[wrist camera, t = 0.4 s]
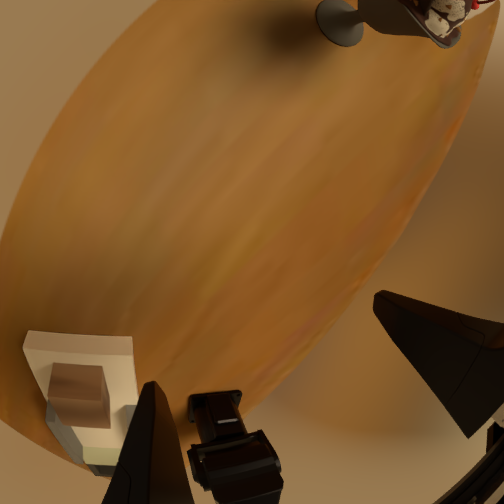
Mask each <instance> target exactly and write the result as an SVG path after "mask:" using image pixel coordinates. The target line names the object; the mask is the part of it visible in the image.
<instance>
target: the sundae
mask: <svg viewBox="0 0 504 504" xmlns="http://www.w3.org/2000/svg"><path fill="white" fill-rule="evenodd" d="M493 1H495V0H487V1H478V0H358V10H355V9H354V8H353V7H352V6H351V5H349V4H348V3H346V2H345V1H343V0H324V1H322V2H321V3H320V4H319V6H318V9H317V21H318V24H319V26H320V28H321V30H322V31H323V33H324V34H325V35H326V36H327V37H328V38H329V39H330V40H332V41H333V42H335V43H336V44H338V45H342V46H346V47H348V46H354V45H356V44H357V43H358V42H359V41H360V40H361V38H362V36H363V30H364V27H363V22H366V23H367V24H368V25H369V26H370V27H372V28H373V29H374V30H376V31H378V32H380V33H382V34H391V35H410V36H421V37H427V38H431V40H432V41H433V42H435V43H436V44H437V45H438V46H439V47H441V48H444V49H445V48H450V47H453V46H454V45H455V44H456V43H457V42H458V41H459V39H460V36H461V31H462V30H461V24H462V23H463V22H464V21H465V20H466V18H467V16H468V14H469V13H470V10H471V9H474V10H476V9H478V8H479V4H485V3H489V2H493Z"/></svg>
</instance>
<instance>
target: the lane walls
mask: <svg viewBox="0 0 504 504" xmlns="http://www.w3.org/2000/svg"><path fill="white" fill-rule="evenodd" d="M125 406H126V419H127V429H128V428H129V425H130V422H131V419H132V416H133V413H134V410H135V408H136V405H125ZM45 422H46V424H47V425H48V427H49V428H50V430H51V431H52V433H53V434H54V435H55V437H56V438H57V440H58V441H59V443H60V444H61V445H62V447H63V448H64V449H65V451H66V452H67V453H68V455H69V456H70V457H71V458H72V460H73V461H74V462H75V463H77V464H83V446H82V444H81V443H80V441H79V439H78V438H77V436H76V434H75V433H74V431H73V429H72V427H71V426H65V425H63V424H62V422H61V421H60V419H59V417H58V416H57V414H56V412H55V410H54V408H53V406H52V405H51V403H50V401H49V399H48V401H47V409H46V417H45Z"/></svg>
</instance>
